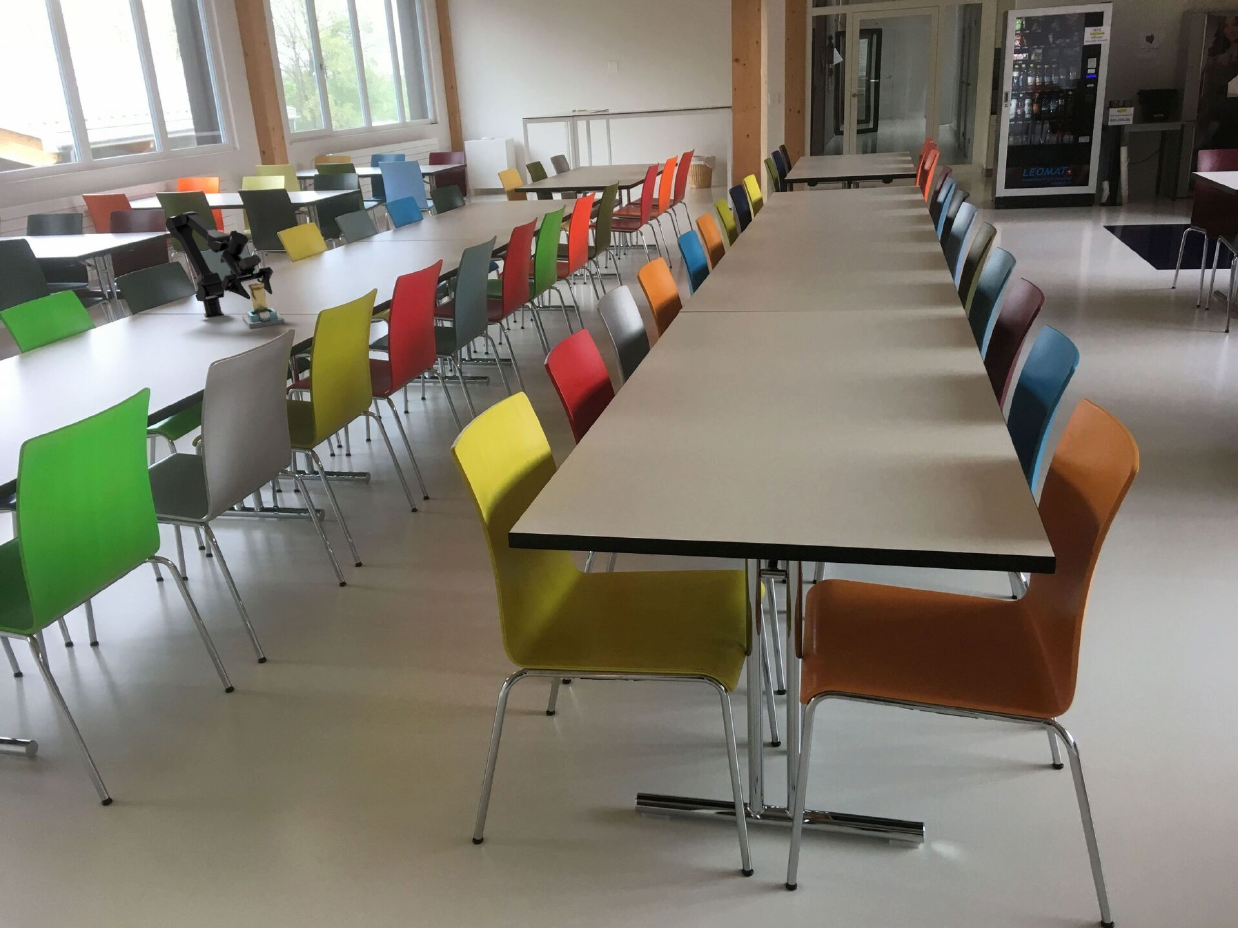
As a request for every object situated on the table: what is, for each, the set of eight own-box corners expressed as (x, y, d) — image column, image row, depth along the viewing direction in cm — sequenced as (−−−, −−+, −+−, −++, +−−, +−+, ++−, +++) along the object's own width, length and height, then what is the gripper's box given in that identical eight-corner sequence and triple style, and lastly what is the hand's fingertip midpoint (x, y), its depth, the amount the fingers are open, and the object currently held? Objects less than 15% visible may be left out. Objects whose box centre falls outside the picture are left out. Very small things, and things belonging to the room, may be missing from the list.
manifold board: (242, 319, 353) (240, 307, 352) (276, 314, 358) (274, 302, 357) (249, 328, 338) (247, 316, 337) (284, 323, 343) (282, 310, 342)
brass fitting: (252, 319, 345) (245, 286, 341) (258, 316, 350) (251, 283, 346) (267, 318, 345) (260, 285, 341) (272, 315, 350) (266, 282, 346)
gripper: (219, 252, 334) (244, 286, 332) (265, 244, 348) (289, 276, 346) (210, 274, 341) (235, 307, 339) (256, 264, 355) (280, 296, 353)
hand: (260, 296), depth 344 cm, fingers open, 9 cm apart
